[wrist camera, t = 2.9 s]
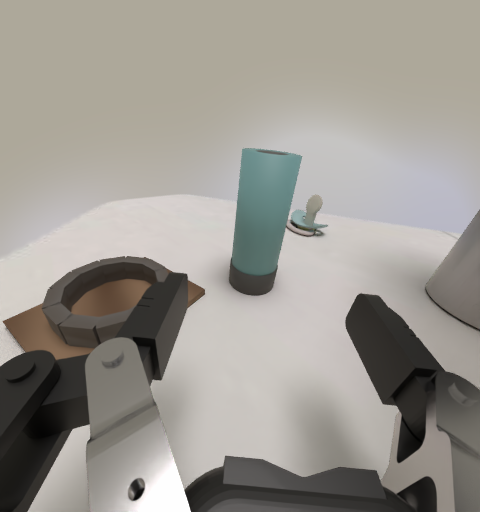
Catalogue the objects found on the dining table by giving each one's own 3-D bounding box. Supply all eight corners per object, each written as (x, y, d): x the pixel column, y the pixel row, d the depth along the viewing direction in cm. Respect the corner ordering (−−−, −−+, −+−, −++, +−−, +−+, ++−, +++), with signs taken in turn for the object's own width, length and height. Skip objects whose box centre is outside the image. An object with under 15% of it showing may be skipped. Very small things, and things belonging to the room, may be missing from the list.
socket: (145, 261, 25) (142, 241, 23) (204, 293, 21) (205, 272, 20) (6, 326, 16) (-12, 301, 14) (65, 404, 12) (49, 379, 11)
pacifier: (301, 240, 35) (329, 236, 37) (310, 203, 31) (340, 201, 34) (277, 223, 40) (303, 220, 43) (283, 190, 37) (311, 189, 39)
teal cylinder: (244, 262, 27) (259, 147, 20) (280, 278, 25) (311, 156, 18) (220, 282, 23) (228, 148, 16) (260, 302, 21) (289, 158, 14)
